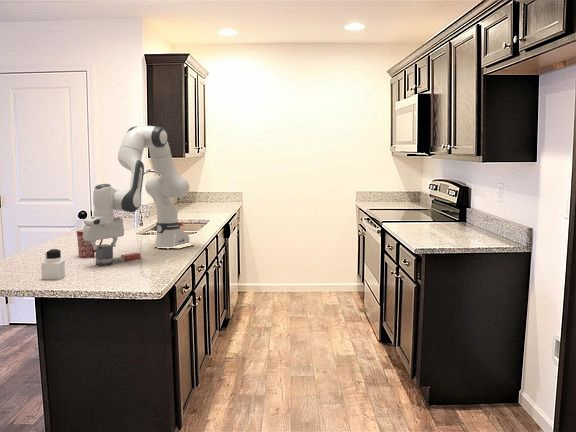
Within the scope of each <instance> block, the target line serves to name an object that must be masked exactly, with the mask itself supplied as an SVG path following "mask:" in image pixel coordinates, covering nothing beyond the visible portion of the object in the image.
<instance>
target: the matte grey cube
mask: <svg viewBox="0 0 576 432" xmlns="http://www.w3.org/2000/svg"><path fill="white" fill-rule="evenodd" d="M96 246H98V249H97V250H96V252H95V259H96V258H97V259H102V260H104V259H110V258H114V247H113V245H111V244H109V243H108V244H107V243H105V244H101V245H99V244H96Z"/></svg>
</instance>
